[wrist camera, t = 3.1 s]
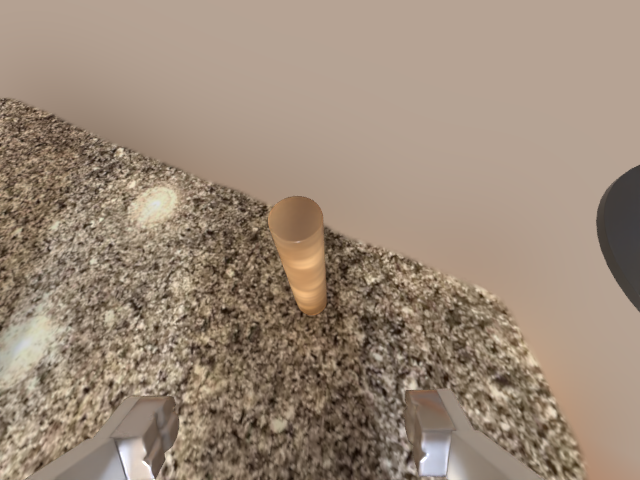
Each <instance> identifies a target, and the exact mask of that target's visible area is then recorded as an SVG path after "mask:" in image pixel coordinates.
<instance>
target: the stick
mask: <svg viewBox="0 0 640 480" xmlns="http://www.w3.org/2000/svg"><path fill="white" fill-rule="evenodd" d="M268 225H269V229H270V231H271V234H272V237H273V240H274V242H275V245H276V248H277V251H278V253H279V256H280V259H281V262H282V264H283V267H284V270H285V273H286V275H287V278H288V281H289V284H290V286H291V289H292V292H293V295H294V297H295V300H296V303H297V306H298V308H299V309H300V311H302V312H303V313H304V314H307V315H316V314H319V313H320V312H322V311H323V310H324V308H325V307H326V304H327V289H326V268H325V248H324V227H323V214H322V211H321V209H320V207H319V206H318V205H317V204H316V203H315V202H314V201H313V200H311V199H309V198H306V197H302V196H293V197H288V198H285V199H283V200H281V201H279V202H278V203H277V204H276V205H275V206H274V207H273V208H272V210H271V211H270V214H269V217H268Z"/></svg>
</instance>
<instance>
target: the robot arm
mask: <svg viewBox="0 0 640 480" xmlns="http://www.w3.org/2000/svg"><path fill="white" fill-rule="evenodd" d="M405 402H406V405H407V407H406V408H405V410H404V422H405V430H406V434H407V438H408V441H409V442H410V443H411V444H412V445H413V458H414V461H415V465H416V468H417V471H418V475H419V476H432V477H447V479H448V480H545V479H543V478H542V477H541V476H539V475H538V474H537V473H535V472H534V471H533V470H531V469H530V468H529V467H527V466H526V465H525V464H523V463H522V462H521V461H519V460H518V459H517V458H515V457H514V456H513V455H511V454H510V453H509V452H507V451H506V450H505V449H503V448H502V447H501V446H499V445H498V444H497V443H495V442H494V441H493V440H491V439H490V438H489V437H487V436H486V435H485V434H483V433H482V432H481V431H476V430H474V429H473V427H472V425H471V423H470V421H469V420H468V418H467V416H466V414H465V412H464V411H463V409H462V407H461V405H460V403H459V402H458V400H457V398H456V396H455V394H454V393H453V391H452V390H451V389H435V390H434V389H429V390H406V392H405ZM175 405H176V404H175V400H174V397H172V396H129V397H127V398H126V399H124V400H123V402H122V403H121V404H120V405H119V407H118V408H117V409H116V410H115V411H114V413H113V414H112V415H111V416H110V418H109V419H108V420H107V421H106V422H105V424H104V425H103V426H102V427H101V429H100V430H99V431H98V432H97V433H96V435H95V436H94V437H93V438H91V439H86V440H85V441H83V442H82V443H80V444H79V445H77V446H76V447H74V448H72V449H71V450H69V451H68V452H66V453H65V454H63V455H62V456H60V457H58V458H57V459H55V460H54V461H52V462H51V463H49V464H48V465H46V466H44V467H43V468H41V469H40V470H38V471H37V472H35V473H34V474H32V475H30V476H29V477H27V478H26V479H24V480H155V479H156V477H157V475H158V473H159V471H160V469H161V467H162V465H163V463H164V462H165V454H164V453H165V452H166V451H167V450H169V449H170V448H171V447H172V446H173V444H174V442H175V440H176V438H177V434H178V430H179V417H178V414H176V413H175V412H174V411H173V409H174V407H175Z"/></svg>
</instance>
